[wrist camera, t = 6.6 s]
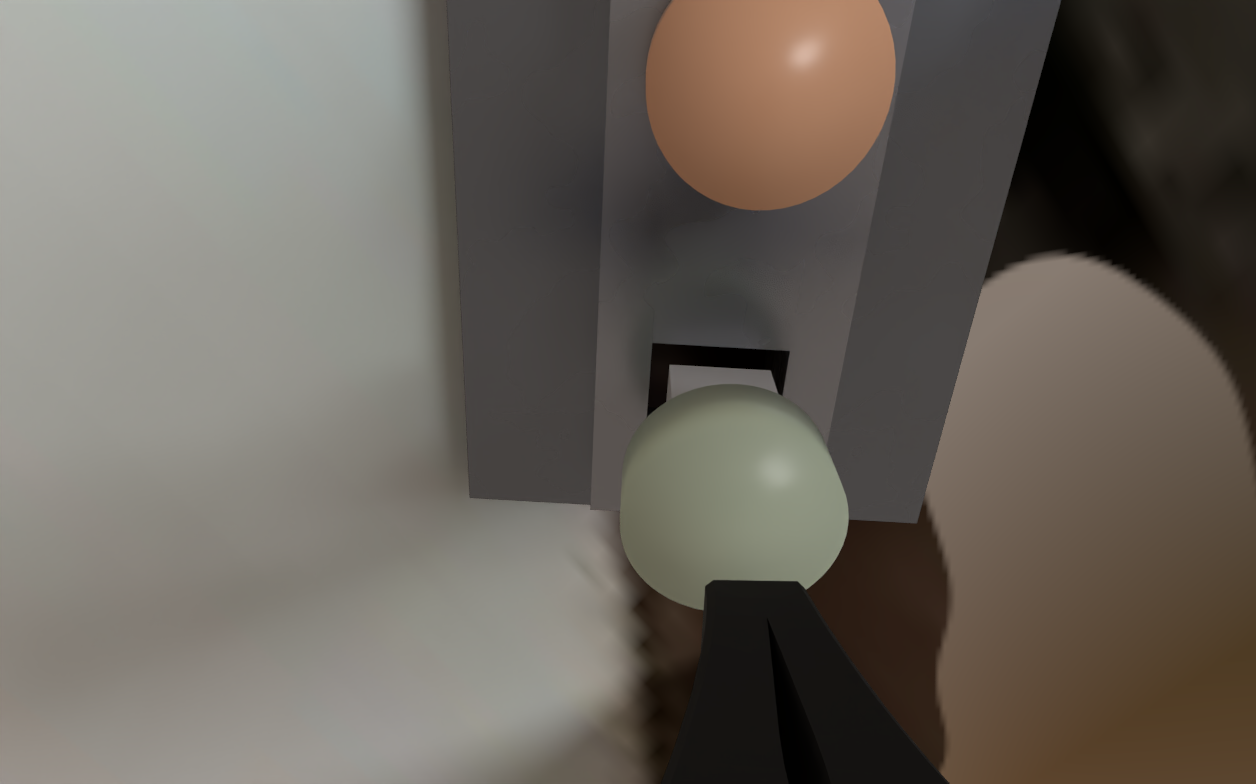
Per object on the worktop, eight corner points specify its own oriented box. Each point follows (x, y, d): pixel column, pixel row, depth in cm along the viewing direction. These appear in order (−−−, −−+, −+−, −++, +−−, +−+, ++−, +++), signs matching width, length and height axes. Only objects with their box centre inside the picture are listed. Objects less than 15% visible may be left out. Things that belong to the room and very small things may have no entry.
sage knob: (818, 334, 16) (869, 434, 13) (790, 491, 18) (827, 618, 15) (630, 323, 16) (626, 420, 13) (621, 481, 18) (614, 606, 15)
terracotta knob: (854, -38, 15) (921, -49, 12) (820, 168, 17) (868, 216, 13) (652, -50, 15) (654, -64, 12) (639, 158, 17) (637, 203, 13)
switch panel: (1223, -701, 12) (1364, -873, 9) (905, 501, 22) (936, 561, 19) (426, -756, 12) (372, -940, 9) (477, 476, 22) (456, 534, 19)
